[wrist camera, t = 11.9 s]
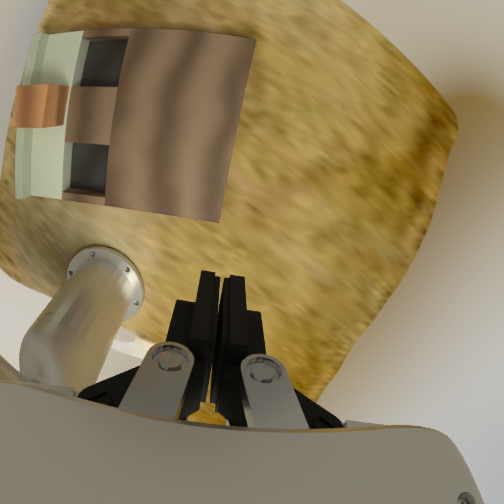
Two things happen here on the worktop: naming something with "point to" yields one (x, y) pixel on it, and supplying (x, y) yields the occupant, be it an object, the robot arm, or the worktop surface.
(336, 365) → the worktop surface
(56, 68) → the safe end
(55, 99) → the block
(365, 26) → the worktop surface
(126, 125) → the track
